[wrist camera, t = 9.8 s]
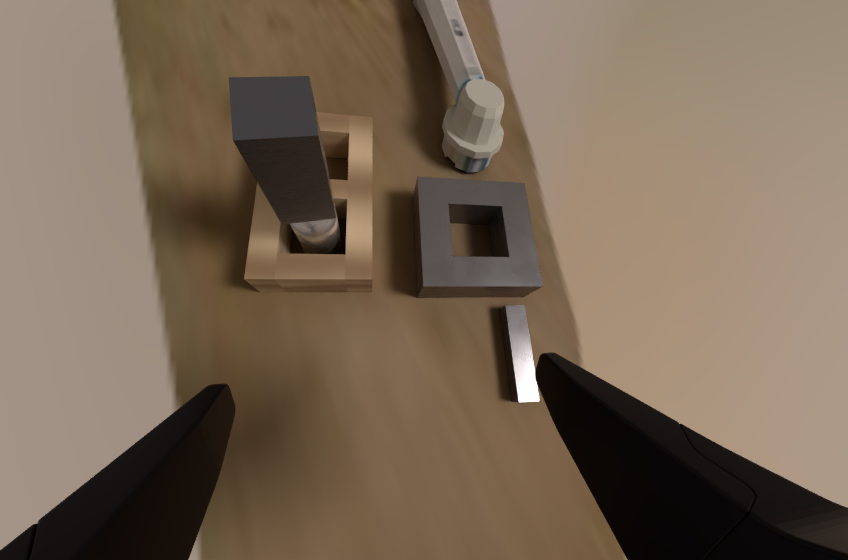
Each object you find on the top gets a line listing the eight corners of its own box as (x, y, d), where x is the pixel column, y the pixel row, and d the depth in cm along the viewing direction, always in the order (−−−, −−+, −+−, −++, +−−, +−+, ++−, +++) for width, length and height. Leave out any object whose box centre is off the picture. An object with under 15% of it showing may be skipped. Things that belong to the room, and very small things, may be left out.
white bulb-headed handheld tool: (453, -46, 33) (533, 107, 23) (441, 27, 39) (500, 174, 29) (405, -52, 32) (467, 106, 22) (400, 24, 38) (447, 176, 27)
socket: (523, 296, 26) (542, 286, 23) (417, 297, 24) (423, 286, 21) (508, 202, 28) (524, 183, 25) (412, 198, 27) (417, 176, 24)
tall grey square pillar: (345, 259, 24) (318, 135, 12) (305, 264, 23) (232, 140, 11) (339, 224, 25) (309, 76, 13) (300, 229, 24) (228, 77, 12)
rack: (372, 291, 24) (372, 279, 21) (260, 292, 22) (244, 279, 19) (372, 144, 28) (372, 117, 25) (278, 136, 26) (267, 107, 24)
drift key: (531, 400, 23) (539, 401, 22) (511, 401, 23) (518, 402, 22) (517, 308, 25) (524, 305, 24) (499, 308, 25) (505, 305, 24)
